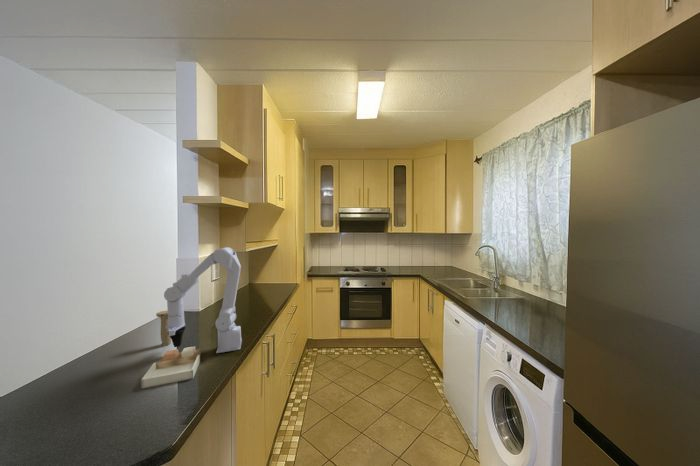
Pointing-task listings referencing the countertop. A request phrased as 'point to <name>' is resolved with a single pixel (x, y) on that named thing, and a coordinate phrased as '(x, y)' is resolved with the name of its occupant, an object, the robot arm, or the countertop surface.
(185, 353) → the cream tile
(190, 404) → the countertop surface
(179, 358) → the oak board
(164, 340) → the handle
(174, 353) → the terracotta tile
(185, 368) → the tray
